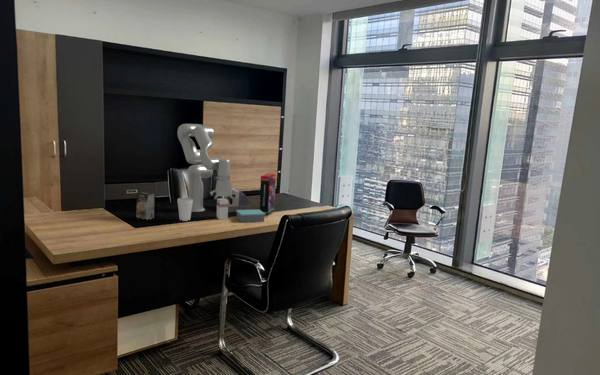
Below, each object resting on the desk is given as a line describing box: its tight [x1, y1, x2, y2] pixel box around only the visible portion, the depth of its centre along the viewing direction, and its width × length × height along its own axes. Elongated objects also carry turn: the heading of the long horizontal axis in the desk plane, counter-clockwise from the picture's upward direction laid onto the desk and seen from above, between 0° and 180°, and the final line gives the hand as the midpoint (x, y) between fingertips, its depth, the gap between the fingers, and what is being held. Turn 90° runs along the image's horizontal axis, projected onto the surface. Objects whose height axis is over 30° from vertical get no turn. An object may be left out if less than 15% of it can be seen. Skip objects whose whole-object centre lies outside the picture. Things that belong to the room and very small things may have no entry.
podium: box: [235, 209, 266, 223], centre depth 285 cm, size 16×13×5 cm
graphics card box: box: [259, 172, 277, 216], centre depth 305 cm, size 17×7×27 cm, turn 168°
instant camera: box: [222, 187, 251, 213], centre depth 314 cm, size 21×21×15 cm
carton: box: [216, 198, 229, 220], centre depth 284 cm, size 6×8×12 cm
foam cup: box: [176, 197, 193, 222], centre depth 273 cm, size 10×9×13 cm
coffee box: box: [135, 190, 155, 221], centre depth 270 cm, size 9×6×16 cm
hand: (223, 204), depth 283 cm, fingers open, 9 cm apart
